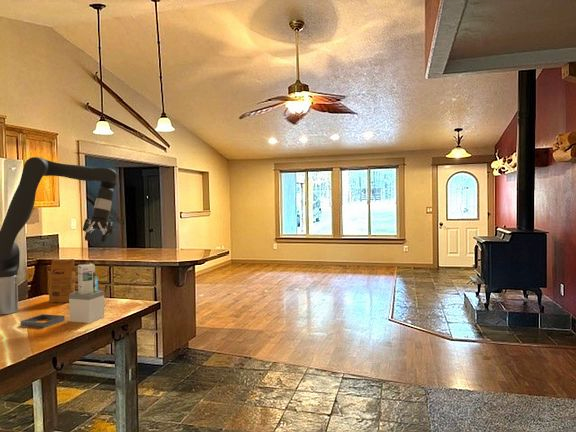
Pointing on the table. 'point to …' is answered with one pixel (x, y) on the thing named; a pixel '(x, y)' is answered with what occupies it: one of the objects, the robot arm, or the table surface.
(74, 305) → the raised dock
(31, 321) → the lower collar
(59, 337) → the table surface
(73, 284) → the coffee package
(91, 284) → the syrup box
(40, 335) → the table surface
